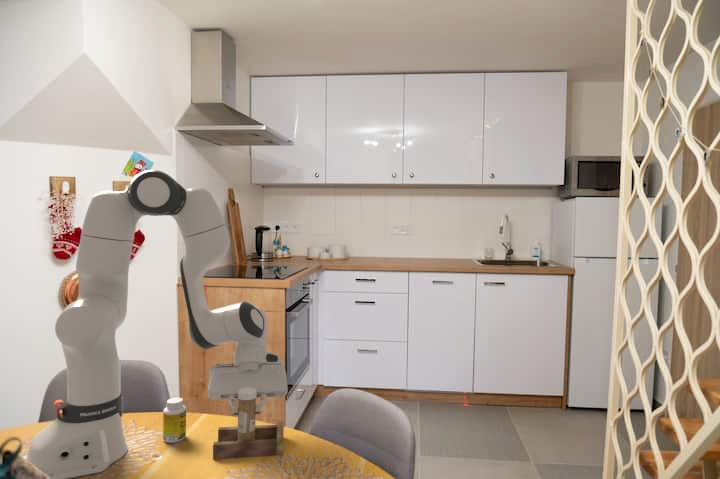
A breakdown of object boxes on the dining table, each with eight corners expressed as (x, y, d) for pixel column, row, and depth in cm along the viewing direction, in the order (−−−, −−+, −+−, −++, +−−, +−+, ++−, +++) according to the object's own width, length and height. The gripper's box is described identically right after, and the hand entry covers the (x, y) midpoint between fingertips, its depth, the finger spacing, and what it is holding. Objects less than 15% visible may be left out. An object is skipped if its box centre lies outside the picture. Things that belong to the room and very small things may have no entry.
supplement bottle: (182, 443, 117) (182, 404, 117) (159, 444, 116) (160, 404, 116) (188, 433, 122) (188, 396, 122) (167, 434, 122) (167, 396, 122)
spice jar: (258, 443, 115) (259, 391, 114) (240, 448, 112) (241, 394, 112) (251, 436, 119) (253, 385, 118) (234, 440, 116) (235, 388, 116)
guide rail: (213, 459, 110) (213, 440, 109) (218, 440, 119) (219, 423, 119) (283, 455, 112) (283, 437, 112) (283, 437, 122) (283, 420, 121)
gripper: (209, 358, 120) (202, 410, 111) (287, 356, 123) (287, 406, 114) (211, 369, 124) (205, 420, 115) (287, 367, 128) (287, 416, 118)
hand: (246, 413), depth 115 cm, fingers closed on spice jar, 4 cm apart
